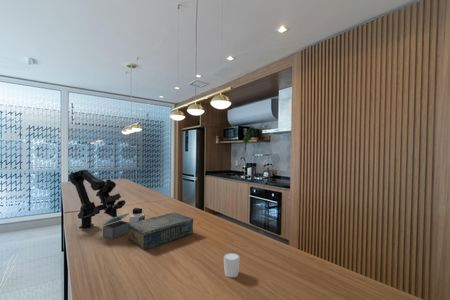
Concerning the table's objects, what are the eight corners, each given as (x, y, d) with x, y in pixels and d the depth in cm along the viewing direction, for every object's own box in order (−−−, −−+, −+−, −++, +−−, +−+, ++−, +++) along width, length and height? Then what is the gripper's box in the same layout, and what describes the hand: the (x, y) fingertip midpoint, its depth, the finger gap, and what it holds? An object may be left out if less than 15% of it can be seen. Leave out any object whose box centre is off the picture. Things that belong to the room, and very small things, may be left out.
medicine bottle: (138, 228, 143) (139, 209, 143) (129, 227, 144) (129, 209, 144) (144, 224, 150) (145, 207, 150) (135, 223, 151) (135, 206, 151)
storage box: (102, 236, 128) (103, 226, 128) (120, 230, 138) (120, 220, 139) (112, 239, 124) (113, 228, 124) (130, 232, 134) (130, 222, 135)
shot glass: (222, 269, 92) (222, 252, 92) (238, 268, 93) (238, 252, 93) (224, 278, 86) (224, 260, 86) (241, 277, 86) (241, 260, 86)
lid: (102, 225, 128) (102, 224, 128) (120, 220, 139) (120, 218, 139) (111, 219, 125) (110, 218, 125) (129, 214, 135) (128, 213, 136)
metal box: (194, 234, 133) (194, 218, 133) (144, 251, 109) (144, 231, 109) (174, 226, 147) (174, 211, 147) (126, 240, 123) (126, 222, 123)
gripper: (97, 192, 126) (108, 214, 121) (124, 187, 142) (135, 207, 138) (88, 203, 129) (98, 225, 124) (116, 197, 146) (126, 217, 141)
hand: (116, 218), depth 132 cm, fingers closed, pressing on lid
